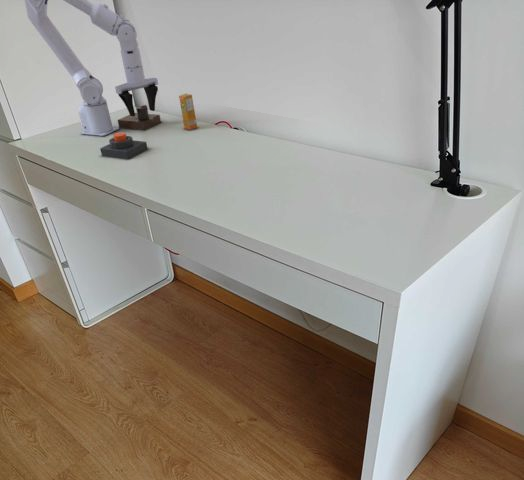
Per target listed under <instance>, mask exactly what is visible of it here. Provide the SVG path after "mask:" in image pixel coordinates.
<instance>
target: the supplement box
mask: <svg viewBox="0 0 524 480" xmlns="http://www.w3.org/2000/svg"><path fill="white" fill-rule="evenodd" d="M178 98H179V104H180V111H181V116H182V121H183V127H184V129H185V130H188V131H192V130H195V129H197V128H198V124H197V117H196V111H195V105H194V99H193V94H190V93H188V92H187V93H184V94H181V95H178Z"/></svg>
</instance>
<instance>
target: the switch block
mask: <svg viewBox="0 0 524 480" xmlns="http://www.w3.org/2000/svg"><path fill="white" fill-rule="evenodd" d="M126 137H127V140H124V141H118V142H117V141H114V137H112V138H110V139H109V140H108V144H106V145H104V146H102V147H100V148H99V150H100V153H101V156H102V157H106V158H107V157H108V158H113V159H114V158H116V159H122V160H123V159H124V160H130V159H132V158H134V157H136V156H137V155H140V154H141V153H143V152H146V151H147V150H149V149H148V144H147V141H143V140H133V137H132V136H131V135H126Z"/></svg>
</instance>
